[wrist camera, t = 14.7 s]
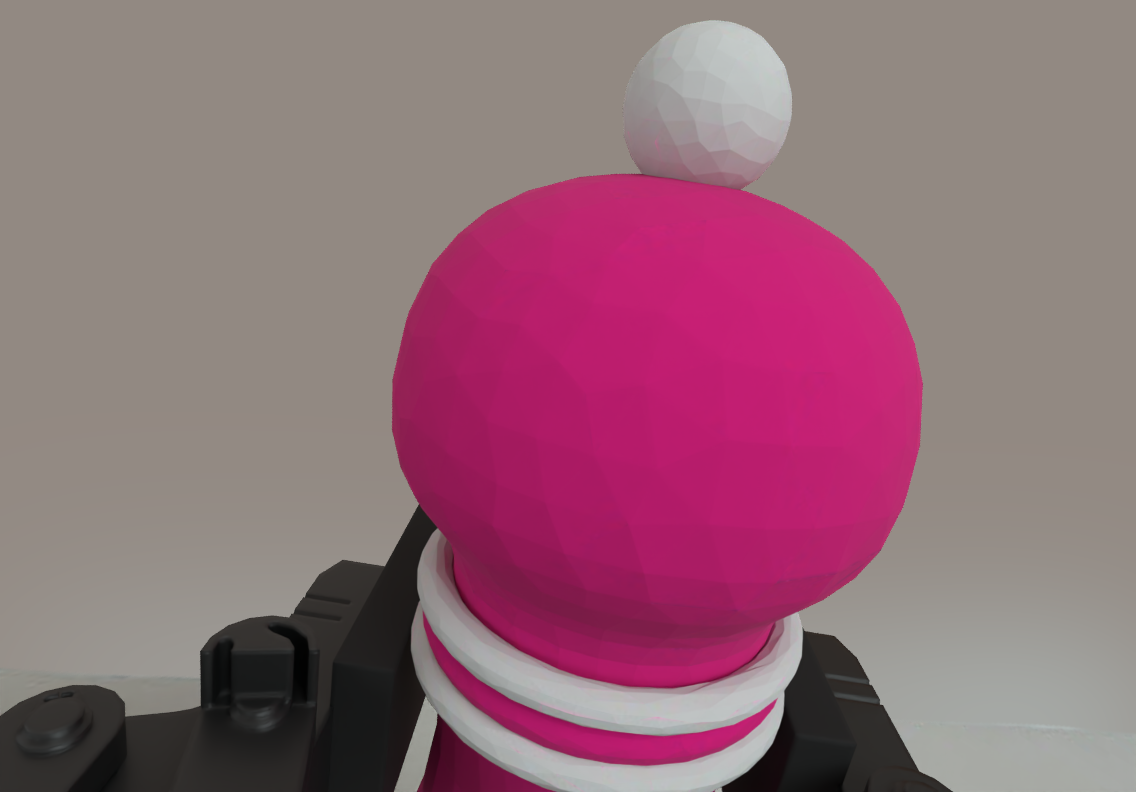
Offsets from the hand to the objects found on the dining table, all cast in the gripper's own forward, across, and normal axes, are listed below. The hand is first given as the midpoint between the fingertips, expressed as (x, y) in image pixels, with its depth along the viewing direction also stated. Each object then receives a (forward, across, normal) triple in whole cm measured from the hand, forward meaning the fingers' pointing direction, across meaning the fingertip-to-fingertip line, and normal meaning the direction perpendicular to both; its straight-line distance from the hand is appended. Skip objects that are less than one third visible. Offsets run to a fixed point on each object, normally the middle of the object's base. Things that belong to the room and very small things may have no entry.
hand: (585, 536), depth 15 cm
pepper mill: (-5, 0, -11) cm, 12 cm away
